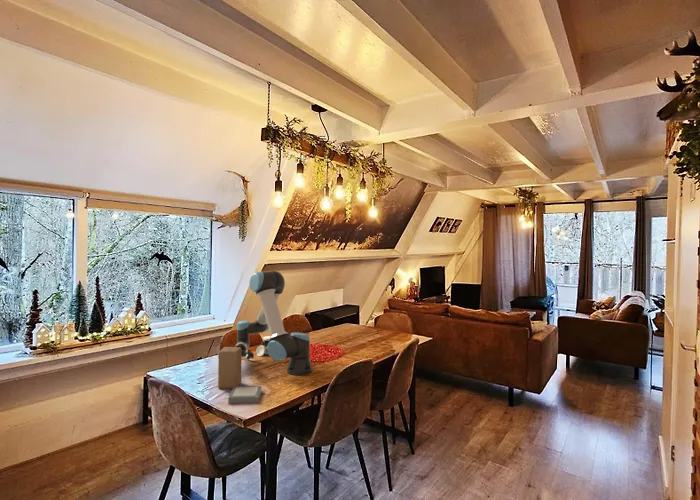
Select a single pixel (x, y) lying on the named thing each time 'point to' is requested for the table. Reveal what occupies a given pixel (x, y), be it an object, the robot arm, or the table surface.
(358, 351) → the table surface
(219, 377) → the wooden block
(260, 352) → the spread jar
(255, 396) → the slate base
